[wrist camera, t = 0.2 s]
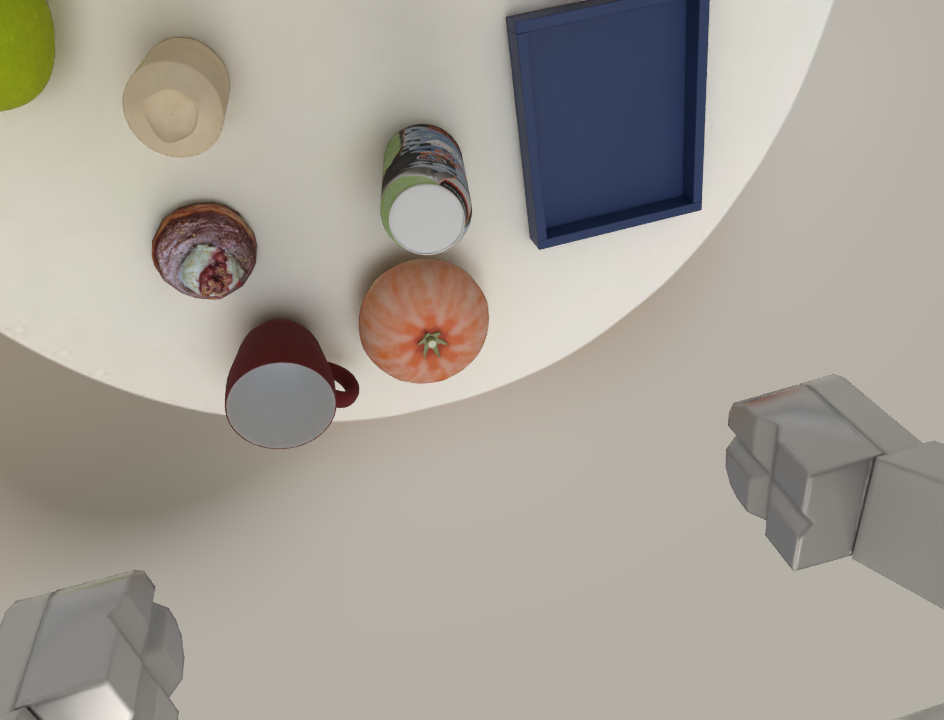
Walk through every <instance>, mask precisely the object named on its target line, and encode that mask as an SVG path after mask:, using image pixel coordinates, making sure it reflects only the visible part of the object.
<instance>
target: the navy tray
mask: <svg viewBox="0 0 944 720" xmlns="http://www.w3.org/2000/svg"><path fill="white" fill-rule="evenodd" d="M709 2H710V0H586V1H581V2H576V3H572V4H567V5H562V6H557V7H552V8H547V9H543V10H538V11H533V12H528V13H523V14H519V15H514V16H509V17H506V23H507V32H508V41H509V50H510V59H511V68H512V77H513V86H514V95H515V104H516V113H517V123H518V132H519V141H520V150H521V159H522V168H523V177H524V186H525V195H526V204H527V213H528V222H529V231H530V238H531V240H532V241H533V242H534V244H535V245H536V246H537V248H538V249H539V250H540V249H544V248H549V247H553V246H557V245H561V244H565V243H569V242H573V241H577V240H581V239H585V238H589V237H593V236H597V235H601V234H605V233H610V232H614V231H618V230H622V229H626V228H630V227H634V226H638V225H642V224H646V223H650V222H654V221H658V220H662V219H666V218H671V217H675V216H679V215H683V214H687V213H691V212H695V211H699V210H701V209H702V182H703V157H704V131H705V105H706V79H707V53H708V28H709Z"/></svg>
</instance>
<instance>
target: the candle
mask: <svg viewBox="0 0 944 720" xmlns="http://www.w3.org/2000/svg"><path fill="white" fill-rule="evenodd" d="M229 90H230V83H229V77H228V73H227V70H226V68H225V66H224V64H223V62H222V61H221V59H220V58H219V57H218V55H217V54H216V53H215V52H214V51H213V50H212V49H210V48H209V47H208V46H206V45H205V44H203V43H201V42H199V41H196V40H193V39H189V38H182V37H181V38H170V39H167V40H164V41H162V42H160V43H159V44H157V45H156V46H155V47H154V48H153V49H152V50H151V51H150V52H149V53H148V55H147V56H146V57H145V59H144V60H143V61H142V63H141V64H140V65H139V67H138V68H137V69H136V71H135V72H134V73H133V75H132V76H131V77H130V79H129V80H128V82H127V84H126V86H125V89H124V93H123V111H124V115H125V118H126V121H127V123H128V125H129V127H130V128H131V130H132V131H133V133H134V134H135V135H136V136H137V138H138V139H139V140H140V141H141V142H143V143H144V144H145V145H146V146H148V147H149V148H151V149H152V150H154V151H156V152H158V153H161V154H164V155H167V156H171V157H190V156H194V155H198V154H200V153H202V152H204V151H205V150H207V149H208V148H210V147H211V146H212V145H213V144H214V142H215V141H216V140H217V138H218V137H219V135H220V132H221V130H222V126H223V122H224V117H225V112H226V107H227V102H228V98H229Z"/></svg>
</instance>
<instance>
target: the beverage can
mask: <svg viewBox="0 0 944 720" xmlns="http://www.w3.org/2000/svg"><path fill="white" fill-rule="evenodd" d="M471 216H472V206H471V199H470V194H469V189H468V184H467V179H466V174H465V169H464V164H463V159H462V154H461V151H460V148H459V146H458V144H457V142H456V141H455V140H454V139H453V137H452V136H451V135H450V134H448V133H447V132H446V131H444V130H443V129H441V128H439V127H436V126H433V125H428V124H418V125H412V126H409V127H406V128H405V129H403V130H401V131H400V132H398V133H397V134H396V135H395V136H394V137H393V138H392V139H391V141H390V142H389V144H388V146H387V148H386V151H385V155H384V163H383V178H382V193H381V219H382V223H383V225H384V228H385V230H386V232H387V233H388V235H389V236H390V237H391V238H392V239H393V241H394V242H396V243H397V244H398V245H399V246H401V247H403V248H404V249H406V250H408V251H410V252H412V253H415V254H420V255H434V254H438V253H441V252H444V251H446V250H448V249H449V248H450V247H452V246H453V245H455V244H456V243H457V242H458V241H459V240H460V239H461V238H462V237H463V236H464V234H465V233H466V231H467V229H468V227H469V224H470V221H471Z"/></svg>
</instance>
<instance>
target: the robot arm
mask: <svg viewBox="0 0 944 720" xmlns="http://www.w3.org/2000/svg"><path fill="white" fill-rule="evenodd" d="M728 426H729V427H730V429H731V430H732V431H733V432H734V433H735V434H736V437H735V438H734V439H733V441H732V442H731V444H730V445H729V446H728V447H727V449H726V470H727V474H728V478H729V481H730V485H731V487H732V489H733V491H734V493H735V494H736V497H737V498H738V500H739V501H740V503H741V504H742V505H743V506H744V508H745V509H746V511H747V512H749V513H751V514H754V515H756V516H758V517H760V518H763V519H765V520H766V532H765V535H766V537H767V538H768V539H769V541H770V542H771V543H772V544H773V546H774V547H775V548H776V549H777V551H778V552H779V553H780V554H781V556H782V557H783V558H784V560H785V561H786V562H787V564H788V565H789V566H790V567H791V569H792V570H793V571H797V570H800V569H804V568H808V567H811V566H815V565H819V564H822V563H826V562H829V561H833V560H836V559H840V558H844V557H847V556H851V555H853V556H852V559H854V560H856V561H857V562H859V563H861V564H863V565H865V566H867V567H868V568H870V569H872V570H874V571H875V572H877V573H879V574H881V575H883V576H885V577H886V578H888V579H890V580H892V581H894V582H895V583H897V584H899V585H901V586H902V587H904V588H906V589H908V590H910V591H911V592H913V593H915V594H917V595H919V596H921V597H922V598H924V599H926V600H928V601H930V602H931V603H933V604H935V605H937V606H939V607H940V608H942V609H944V444H942V443H939V442H936V441H931V442H927V443H922V442H920V441H919V440H918V439H917V438H916V437H915V436H913V435H912V434H911V433H910V432H909V431H907V430H906V429H905V428H904V427H903V426H901V425H900V424H899V423H898V422H897V421H895V420H894V419H893V418H892V417H891V416H889V415H888V414H887V413H886V412H885V411H883V410H882V409H881V408H880V407H879V406H877V405H876V404H875V403H874V402H873V401H871V400H870V399H869V398H868V397H866V396H865V395H864V394H863V393H862V392H861V391H859V390H858V389H857V388H856V387H855V386H854V385H852V384H851V383H850V382H849V381H847V380H846V379H845V378H843V377H841V376H838V375H835V374H832V375H829V376H826V377H822V378H818V379H815V380H812V381H808V382H805V383H801V384H800V385H795V386H792V387H788V388H785V389H781V390H778V391H774V392H771V393H767V394H764V395H760V396H757V397H753V398H750V399H747V400H743V401H740V402H736V403H734V404H733V406H732V407H731V410H730V411H729V419H728ZM154 591H155V586H154V584H153V583H152V581H151V580H150V579H149V577H148V576H147V574H146V573H145V572H144V571H141V570H133V571H130V572H125V573H122V574H118V575H114V576H110V577H106V578H102V579H98V580H94V581H90V582H86V583H82V584H78V585H74V586H70V587H67V588H62V589H59V590H56V591H55V592H51V593H46V594H42V595H38V596H34V597H30V598H26V599H22V600H18V601H16V602H15V603H14V604H13V605H12V606H11V607H10V608H9V609H8V610H7V611H6V613H5V614H4V617H3V620H2V622H1V625H0V720H178V714H179V711H178V710H177V708H176V707H175V706H174V704H173V703H172V701H171V700H170V698H169V697H170V696H171V694H172V693H173V692H174V690H175V689H176V687H177V686H178V685H179V683H180V682H181V680H182V677H183V667H184V652H183V643H182V635H181V632H180V630H179V627H178V624H177V621H176V619H175V618H174V616H173V614H172V612H171V611H170V609H169V608H167V607H165V606H162V605H160V604H157V603H154V602H153V597H154ZM895 720H944V703H942V704H939V705H936V706H933V707H930V708H927V709H924V710H921V711H918V712H915V713H912V714H909V715H906V716H904V717H900V718H898V719H895Z"/></svg>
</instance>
